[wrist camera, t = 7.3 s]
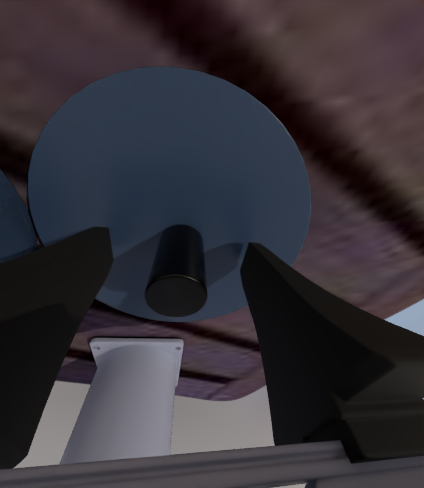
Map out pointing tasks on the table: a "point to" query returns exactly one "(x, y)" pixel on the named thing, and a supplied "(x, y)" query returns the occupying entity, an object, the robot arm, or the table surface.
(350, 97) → the table surface
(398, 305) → the table surface
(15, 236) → the pot
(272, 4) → the table surface
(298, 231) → the lid
